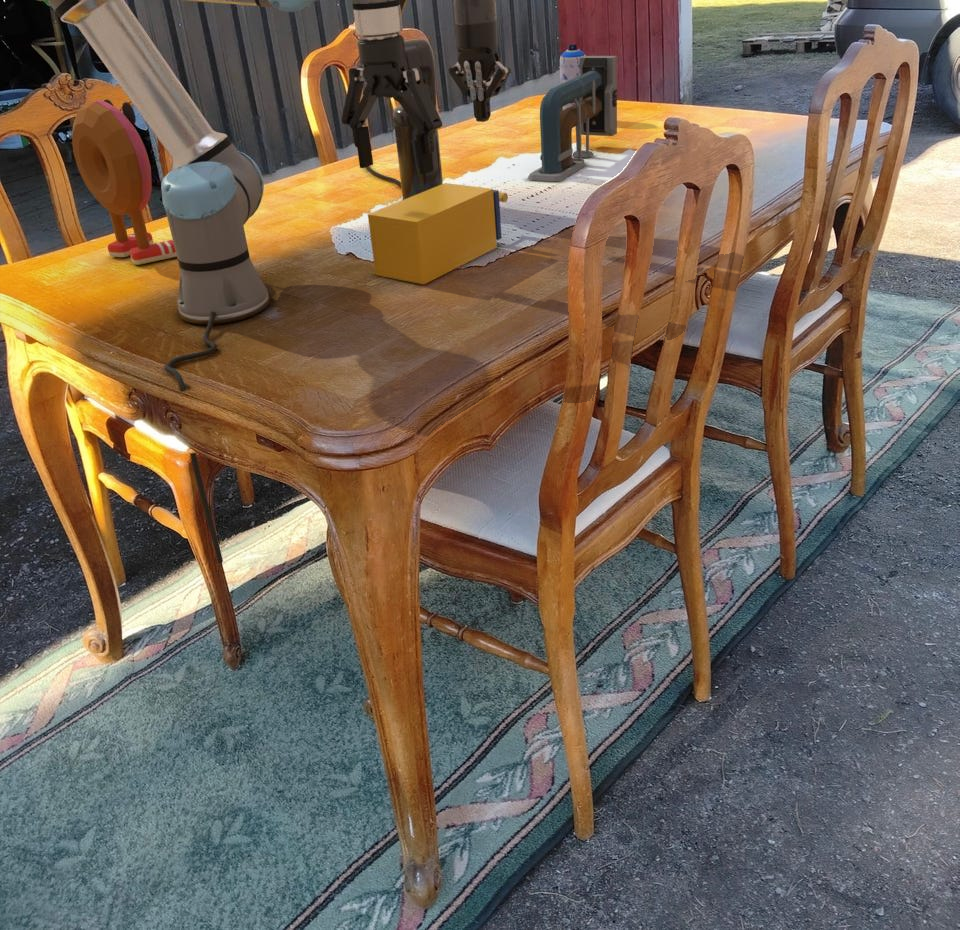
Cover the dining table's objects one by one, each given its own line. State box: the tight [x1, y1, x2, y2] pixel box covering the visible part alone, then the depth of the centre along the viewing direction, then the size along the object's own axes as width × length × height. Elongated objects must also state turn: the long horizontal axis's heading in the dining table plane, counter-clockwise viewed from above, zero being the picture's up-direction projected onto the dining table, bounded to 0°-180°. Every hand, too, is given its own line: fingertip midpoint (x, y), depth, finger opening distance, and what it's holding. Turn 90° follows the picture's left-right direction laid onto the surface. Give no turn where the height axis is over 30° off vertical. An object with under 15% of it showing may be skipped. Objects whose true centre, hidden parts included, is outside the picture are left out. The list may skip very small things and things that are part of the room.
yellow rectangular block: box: [367, 182, 498, 285], centre depth 177 cm, size 22×11×11 cm, turn 143°
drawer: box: [493, 189, 509, 241], centre depth 181 cm, size 27×10×9 cm, turn 143°
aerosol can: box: [559, 43, 587, 110], centre depth 273 cm, size 8×8×20 cm
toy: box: [71, 98, 177, 266], centre depth 188 cm, size 21×10×30 cm, turn 47°
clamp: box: [527, 55, 618, 182], centre depth 230 cm, size 35×9×21 cm, turn 151°
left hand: (396, 169), depth 167 cm, fingers open, 13 cm apart
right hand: (482, 120), depth 180 cm, fingers closed
